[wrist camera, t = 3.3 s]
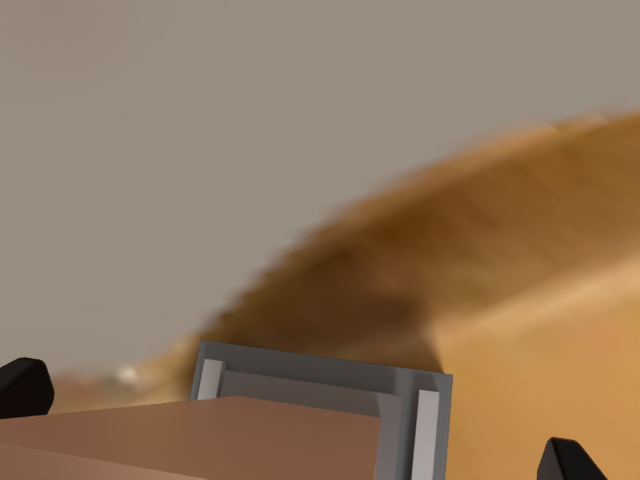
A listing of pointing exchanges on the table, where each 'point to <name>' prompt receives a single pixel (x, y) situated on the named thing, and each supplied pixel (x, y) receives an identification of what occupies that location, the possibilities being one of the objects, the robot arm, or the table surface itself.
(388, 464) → the fader
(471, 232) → the table surface
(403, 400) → the grey slider rail base
